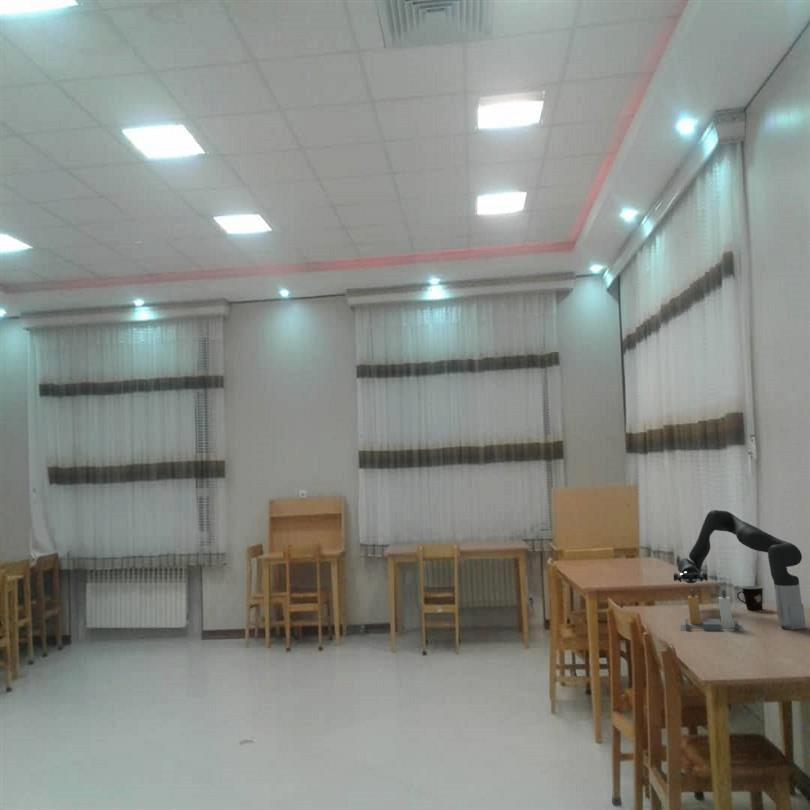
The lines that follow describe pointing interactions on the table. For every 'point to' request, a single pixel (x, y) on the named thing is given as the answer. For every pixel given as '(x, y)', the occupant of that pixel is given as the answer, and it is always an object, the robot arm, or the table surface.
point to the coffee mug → (752, 597)
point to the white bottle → (725, 611)
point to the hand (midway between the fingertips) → (690, 579)
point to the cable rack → (710, 626)
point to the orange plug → (694, 608)
